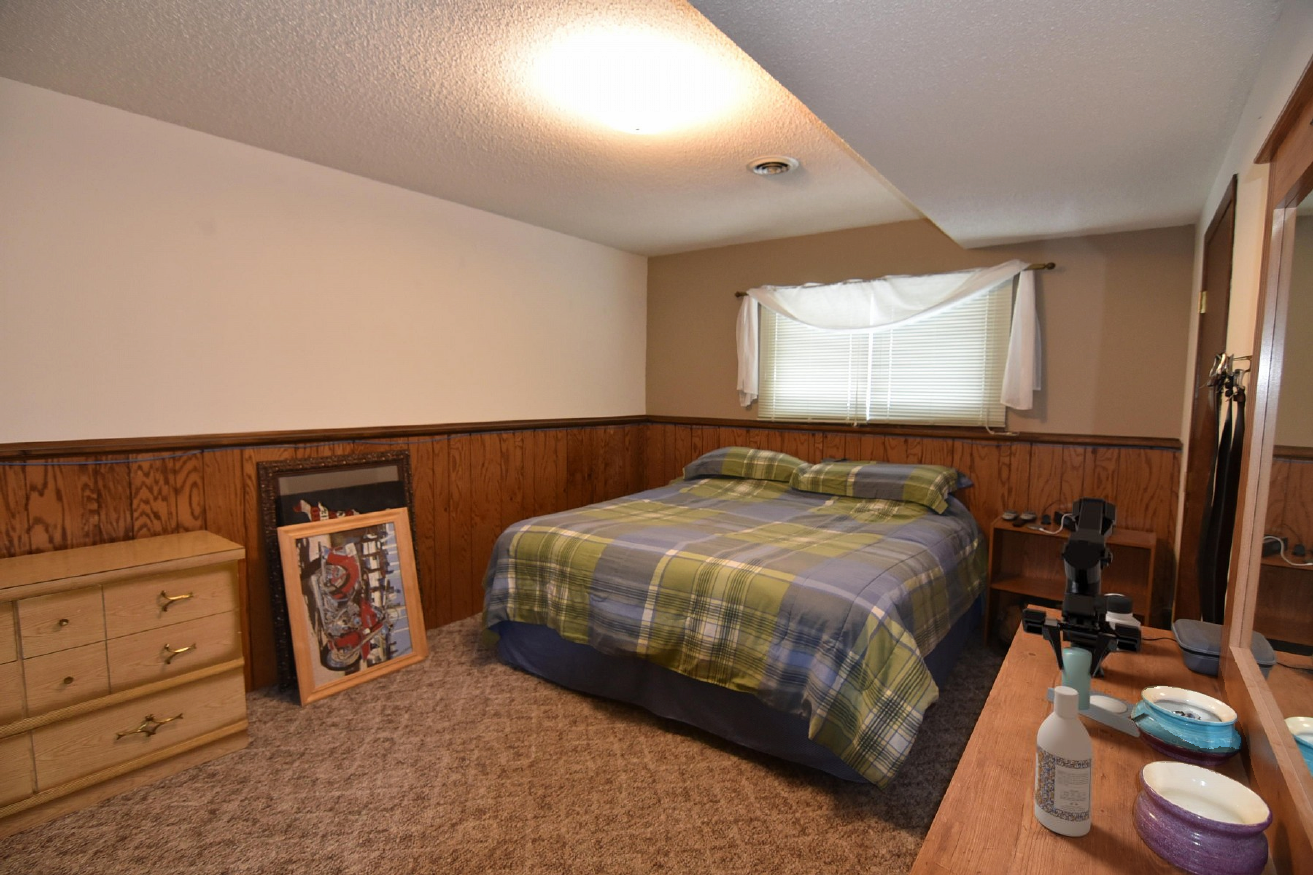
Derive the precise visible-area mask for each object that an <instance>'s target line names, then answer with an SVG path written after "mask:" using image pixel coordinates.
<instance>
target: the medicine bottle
mask: <svg viewBox="0 0 1313 875" xmlns="http://www.w3.org/2000/svg"><path fill="white" fill-rule="evenodd" d="M1105 595H1107V596H1108V613H1107V614H1106V621H1110V625H1111V627H1112V628H1113V630H1115V623H1120V624H1126V625H1132V626H1138V627H1139V628H1140V629H1141V626H1142V625H1141V622H1140V621H1139V620H1137V619H1136V618H1135V617H1134V616H1133V610H1134V601H1133V599H1132V598H1130V597H1128V596H1126V595H1124V594H1119V593H1107V594H1106V593H1105ZM1141 630H1142V629H1141ZM1118 651H1119V652H1120V651H1121V652H1123V651H1122V650H1119V649H1118V648H1117V652H1118Z"/></svg>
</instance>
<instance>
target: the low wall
mask: <svg viewBox="0 0 1313 875" xmlns="http://www.w3.org/2000/svg"><path fill="white" fill-rule="evenodd" d="M1054 690H1055V688H1053V687H1051V686H1048V687H1047V688H1046V700H1047V701H1049V702H1051V703H1053V704H1054V698H1055V691H1054ZM1079 714H1080V715H1082V716H1084V717H1087V718H1088V719H1091V720H1094V721H1097V722H1100V723H1101V724H1103V725H1106V726H1108V727H1110V728H1113V729H1115V730H1117V731H1118V730H1119V732H1120V731H1121V732H1123V733H1125V734H1127V735H1130V736H1133V737H1135V738H1139V737H1140V734H1141V733H1140V732H1139V731H1138V728H1137V727H1136V724H1135V723H1134V721H1135V720H1134V719H1133V720H1134V721H1133V720H1131V719H1129V718H1126V717H1124V716H1121V715H1119V714H1116V713H1114V712H1111V711H1109V710H1106V709H1104V708H1101V707H1099V706H1096V705H1094V704H1091V703H1090V708H1089V709H1088V710H1078V715H1079Z"/></svg>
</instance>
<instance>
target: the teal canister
mask: <svg viewBox="0 0 1313 875" xmlns="http://www.w3.org/2000/svg"><path fill="white" fill-rule="evenodd" d="M1091 664H1092V653H1091V652H1089V651H1087V650H1085V649H1081V648H1077V647H1070V646H1065V647H1063V648H1062V670H1061V685H1060V686H1066V687H1070V688H1073V689H1075V690H1076V691H1077V692H1078V694H1079V697H1078V710H1088V709H1089V708H1090V691H1092V690H1091V685H1092V677H1091Z"/></svg>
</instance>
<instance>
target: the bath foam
mask: <svg viewBox="0 0 1313 875" xmlns="http://www.w3.org/2000/svg"><path fill="white" fill-rule="evenodd" d="M1054 689H1055V690H1054V691H1055V698H1054V703H1053V712H1051V713H1050V715H1048V716H1047V717H1046V719H1045V720H1044V721H1043V722H1042V724H1041V725H1040V726H1039V728H1038V731H1037V736H1036V743H1035V744H1036V749H1035V779H1034V780H1035V781H1034V783H1035V784H1034V814H1035V816H1036V819H1037V820H1038V821H1039V823H1040V824H1042V825H1043V826H1044V827H1045V828H1047V829H1049V830H1050V831H1052V832H1054V833H1057V834H1060V835H1063V836H1067V837H1082V836H1086V835H1087V834H1088V833H1089V832H1090V829H1091V823H1092V822H1091V820H1092V799H1093V798H1092V795H1093V773H1094V771H1093V769H1094V746H1093V742H1092V739H1091V737H1090V734H1089V732H1088V730H1087V729H1086V727H1085V725H1084V724H1083V723H1082V721H1081V719H1080V718H1079V717H1078V715H1079V713H1078V697H1079V694H1078V692H1077V691H1076V690H1075V689H1073V688H1070V687H1066V686H1061V685H1059V686H1058V685H1057V686H1056V687H1054Z"/></svg>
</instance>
